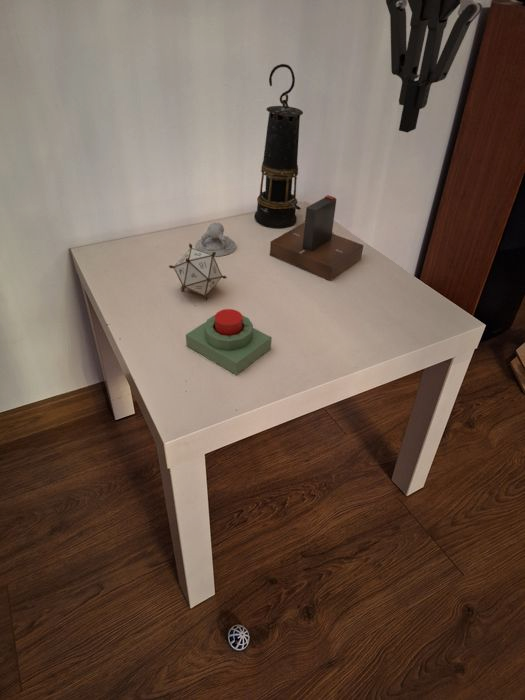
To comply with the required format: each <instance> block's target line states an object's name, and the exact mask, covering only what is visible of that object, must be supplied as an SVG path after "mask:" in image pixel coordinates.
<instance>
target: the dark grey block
mask: <svg viewBox="0 0 525 700" xmlns="http://www.w3.org/2000/svg"><path fill="white" fill-rule="evenodd" d="M336 207H337V198H336V197H335V196H332V195H329V194H327V195H325V196H324V197H322V198H320V199H319V200H318V201H315V202H313V203H312V204H310V205H308V206H306V208H305V216H304V217H305V218H304V223H305V227H304V238H303V248H305V249H307V250H310V251H312V250H314V249H315V248H317V247H318V246H320V245H321V244H323V243H325V242H326V241H328V240H329V239H331V237H332V232H333V230H334V229H333V228H334V221H335V213H336Z"/></svg>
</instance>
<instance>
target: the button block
mask: <svg viewBox="0 0 525 700" xmlns="http://www.w3.org/2000/svg"><path fill="white" fill-rule="evenodd" d="M215 315H216V314H214V315H212V316H211V317H209V318H208V319H206V321H205V322H203V323H202V324H200V325H199V326H197V327H195V328H194V329H192V330H190V331H189V332H188V333H186V334H185V344H186V347H187V348H189V349H191V350H193V351H194V352H196V353H198V354H199V355H201V356H203V357H205V358H206V359H208V360H210V361H211V362H214V363H215V364H217V365H218V366H220V367H222V368H224V369H225V370H227V371H229V372H230V373H232V374H234V375H235V376H236V375H238V374H240V373H241V372H243V371H244V370H245V369H246V368H247V367H249V366H250V365H251V364H253V363H254V362H255V361H257V360H258V359H260V358H261V357H262V356H263V355H265V354H266V353H267V352H268V351H270V350H271V349H272V336H270V335H268V334H266V333H264V332H262V331H260V330H259V329H257V328H254V325H253V323H252V321H251V319H250V318H248V317H246V316H245V315H243V314H242V317H243V318H242V331H241V332H240V333H239V334H237V335H232V336H226V335H220V334H219V333H217V332H216V330H215Z"/></svg>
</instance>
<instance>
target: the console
mask: <svg viewBox="0 0 525 700" xmlns="http://www.w3.org/2000/svg"><path fill="white" fill-rule="evenodd" d="M304 227H305V222H303V223H301V224H299V225H298V226H296V227H294V228H292V229H291V230H288V231H287V232H285V233H283V234H282V235H279V236H277V237H276V238H274V239H272V240H271V241H270V244H269V256H271V257H273V258H275V259H278V260H280V261H282V262H285V263H287V264H289V265H292V266H294V267H297V268H299V269H302V270H304V271H306V272H308V273H310V274H313V275H316V276H317V277H320V278H323V279H325V280H327V281H328V282H329V281H330V282H331V281H332V280H334V279H336V278H337V277H338V276H340V274H343V272H345V271H346V270H348V269H349V268H351V267H352V266H354V265H355V264H356V263H358V262H360V260H361V259H362V258H363V257H362V256H363V250H364V244H362V243H359V242H356V241H354V240H350V239H348V238H346V237H343V236H340V235H338V234H335V232H333V231H332V237H331V239H329V240H328V241H326V242H325V243H323V244H321V245H320V246H318V247H317V248H315V249H314V250H312V251H310V250H307V249H305V248H303V238H304Z"/></svg>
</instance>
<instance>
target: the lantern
mask: <svg viewBox="0 0 525 700" xmlns="http://www.w3.org/2000/svg"><path fill="white" fill-rule="evenodd" d="M280 68H286V69H288V70H289V72H290V74H291V85H290V87H289V88H288V89H287V90H286V91H284V92H282V93H281V95H280V96H279V102H280V104H281V105H272V106H268V107H266V111H267V112H268V119H267V127H266V134H265V143H264V152H263V153H264V154H263V159H262V163H261V168H260V169H261V170H260V172H261V180H260V187H259V188H260V189H259V195H258V196H257V198H256V199H257V201H256V202H257V204H256V205H257V206H256V211H255V213H254V220H255V222H256V223H258V224H259V225H261V226H263V227H265V228H270V229H286V228H290V227H293V226H294V225H296V224H297V221H298V217H297V215H296V211H297V210H298V211H300V210H301V206H299V205H297V204H298V199H297V178H298V177H297V176H298V175H299V165H298V157H299V155H298V154H299V137H300V121H301V116H302V115H303V114H304V111H303V110H302V109H300V108H297V107H293V106H290V105H289V104H288V101H289V94H290V93H291V92H292V90H293V89H294V87H295V83H296V82H295V81H296V76H295V72H294V70H293V69H292V67H291V66H290V65H289V64H286V63H281V64H277V65H276V66H274V67H273V68H272V70H271V71H270V73H269V78H268V83H269V87H273V78H272V77H273V75H274V73H275V72H276V70H278V69H280ZM284 96H285V99H283V97H284ZM264 177H265V190H264V191H263V187H264V186H263V185H264ZM293 179H294V180H293ZM293 181H294V183H293ZM293 185H294V186H293ZM292 188H294V189H293V193H292Z"/></svg>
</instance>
